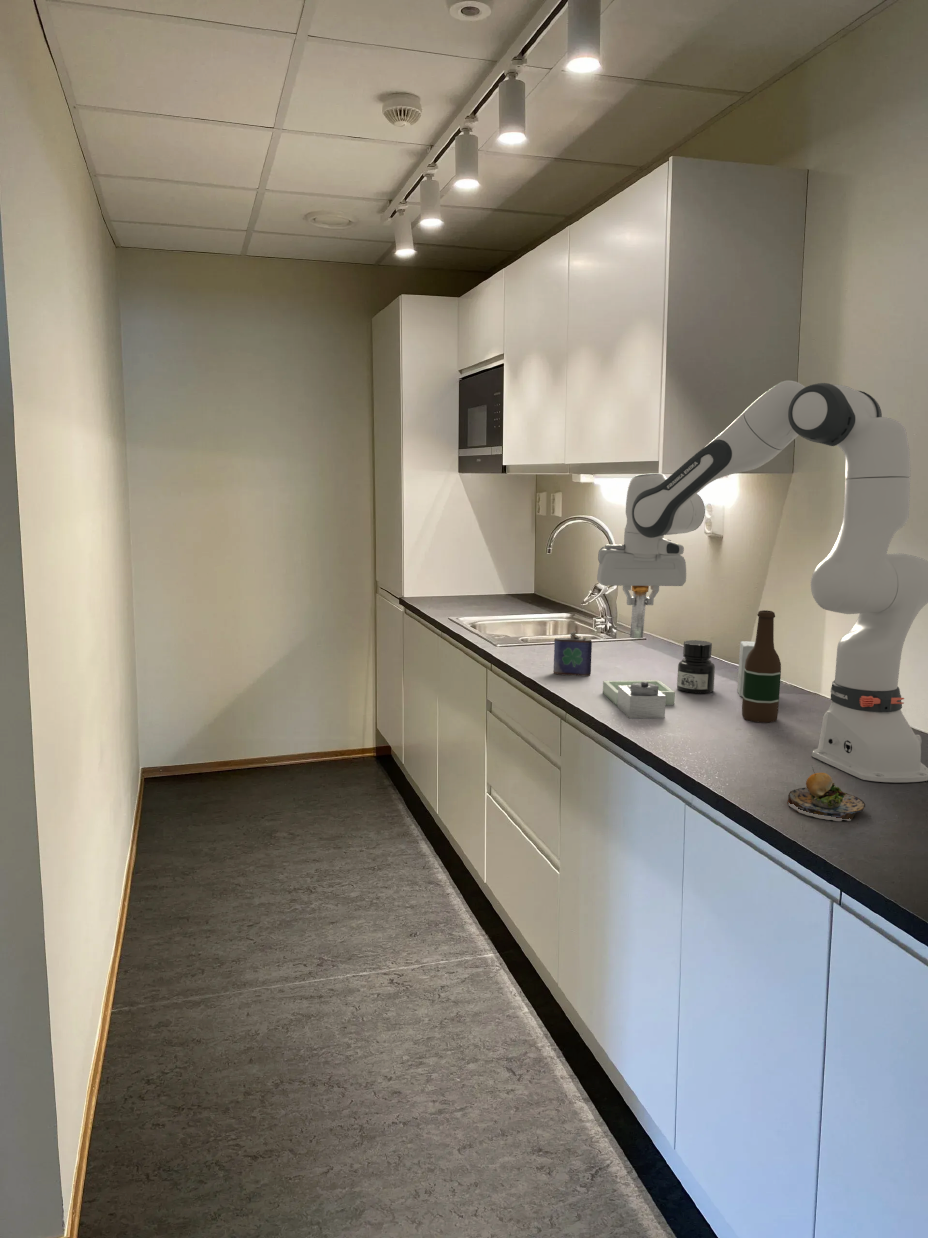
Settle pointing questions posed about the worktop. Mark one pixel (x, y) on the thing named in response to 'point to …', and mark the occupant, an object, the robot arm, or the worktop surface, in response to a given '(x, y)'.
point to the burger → (825, 798)
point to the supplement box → (743, 663)
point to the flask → (572, 655)
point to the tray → (612, 686)
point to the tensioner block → (641, 701)
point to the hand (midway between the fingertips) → (639, 604)
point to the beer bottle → (762, 674)
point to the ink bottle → (696, 668)
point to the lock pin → (638, 611)
